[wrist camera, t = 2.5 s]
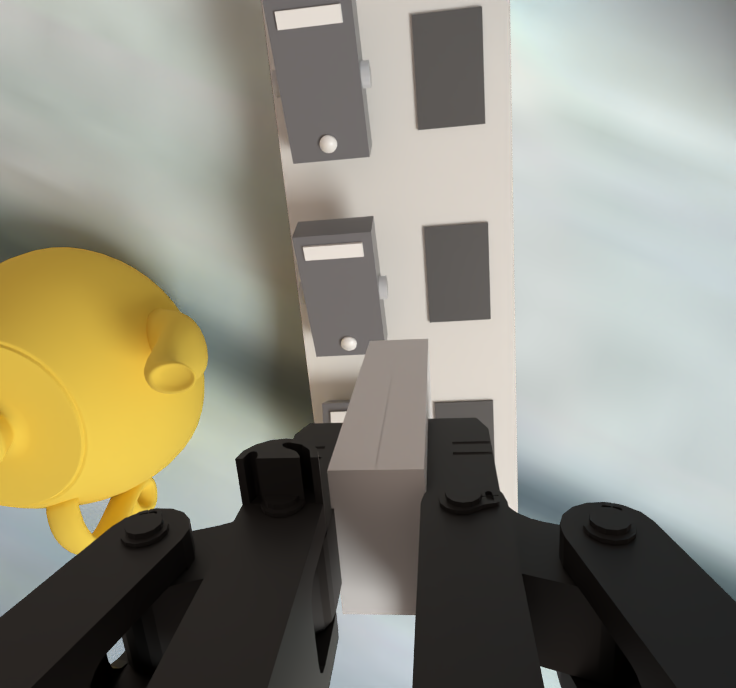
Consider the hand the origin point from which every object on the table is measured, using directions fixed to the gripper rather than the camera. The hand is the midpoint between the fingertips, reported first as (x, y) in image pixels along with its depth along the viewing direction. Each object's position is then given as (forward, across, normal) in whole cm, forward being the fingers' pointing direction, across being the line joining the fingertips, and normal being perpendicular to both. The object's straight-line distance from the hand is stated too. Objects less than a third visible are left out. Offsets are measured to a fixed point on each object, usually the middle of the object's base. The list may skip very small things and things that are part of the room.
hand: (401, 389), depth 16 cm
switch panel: (+17, -1, 0) cm, 17 cm away
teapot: (+17, -17, -5) cm, 25 cm away
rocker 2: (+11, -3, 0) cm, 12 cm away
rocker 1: (+11, -3, +9) cm, 14 cm away
